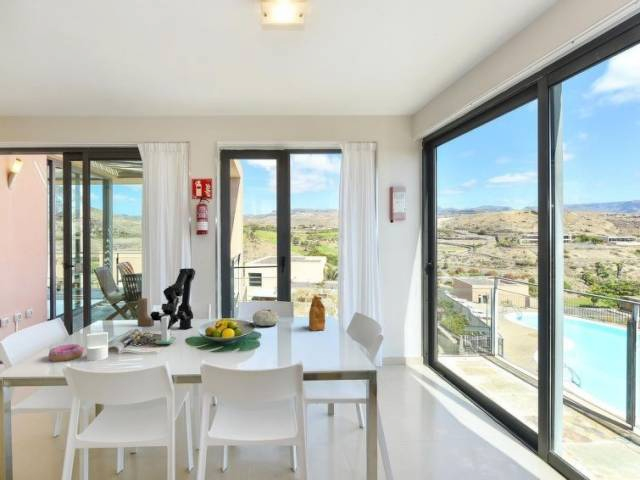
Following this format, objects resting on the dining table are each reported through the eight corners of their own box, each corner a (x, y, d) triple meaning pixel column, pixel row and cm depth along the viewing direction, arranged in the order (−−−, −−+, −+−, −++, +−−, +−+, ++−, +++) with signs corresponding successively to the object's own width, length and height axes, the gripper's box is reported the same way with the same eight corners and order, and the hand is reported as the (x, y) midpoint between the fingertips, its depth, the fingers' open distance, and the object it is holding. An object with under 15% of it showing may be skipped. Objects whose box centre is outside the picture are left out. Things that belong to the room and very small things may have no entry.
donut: (78, 351, 188) (78, 341, 188) (88, 357, 179) (88, 347, 179) (44, 358, 177) (44, 348, 177) (53, 365, 168) (53, 354, 168)
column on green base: (161, 339, 203) (161, 314, 203) (175, 338, 204) (175, 314, 203) (155, 343, 195) (155, 318, 195) (170, 343, 196) (170, 318, 195)
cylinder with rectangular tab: (85, 362, 172) (85, 337, 171) (88, 356, 180) (87, 332, 179) (107, 359, 176) (107, 334, 176) (108, 353, 184) (108, 330, 184)
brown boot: (154, 324, 241) (154, 298, 241) (151, 326, 237) (151, 299, 237) (140, 324, 241) (140, 298, 241) (137, 326, 237) (137, 299, 236)
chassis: (142, 337, 212) (142, 330, 212) (156, 340, 207) (156, 333, 207) (123, 342, 201) (123, 335, 201) (137, 346, 196) (137, 338, 196)
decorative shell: (277, 328, 234) (277, 313, 234) (250, 328, 235) (250, 313, 234) (280, 321, 252) (280, 307, 252) (255, 321, 252) (255, 307, 252)
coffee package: (321, 325, 242) (322, 293, 241) (326, 330, 230) (326, 296, 229) (307, 326, 240) (307, 294, 239) (311, 331, 227) (311, 297, 227)
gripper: (151, 297, 202) (142, 321, 192) (185, 297, 203) (178, 321, 193) (157, 308, 210) (149, 332, 200) (189, 308, 211) (183, 332, 201)
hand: (164, 329), depth 198 cm, fingers closed on column on green base, 3 cm apart
